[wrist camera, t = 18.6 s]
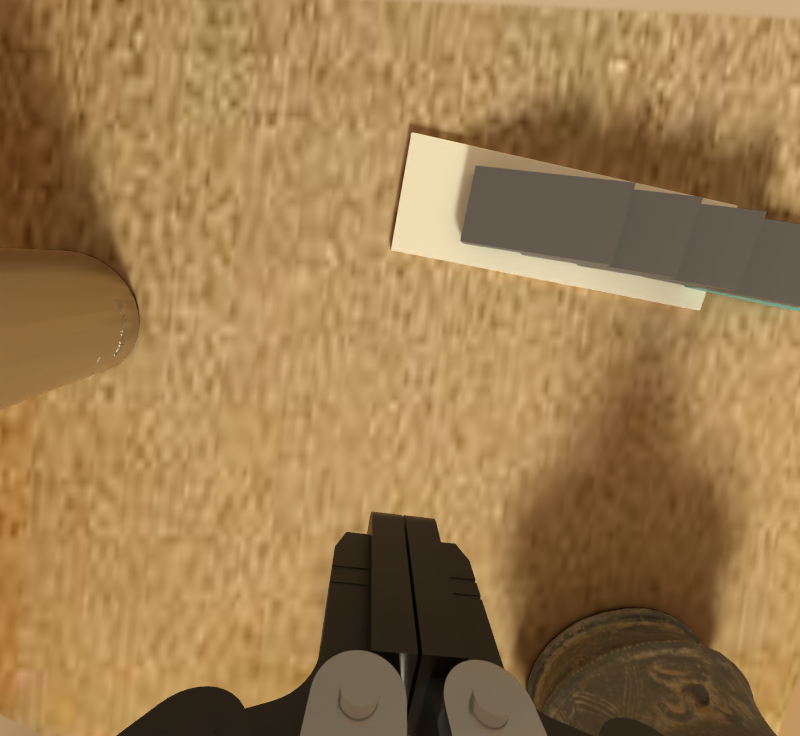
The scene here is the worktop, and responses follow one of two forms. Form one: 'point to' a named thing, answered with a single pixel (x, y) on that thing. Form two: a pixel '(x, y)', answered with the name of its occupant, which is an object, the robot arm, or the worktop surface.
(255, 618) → the worktop surface
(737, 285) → the domino
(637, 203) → the domino
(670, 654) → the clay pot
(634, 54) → the worktop surface
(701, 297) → the strip
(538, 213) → the domino
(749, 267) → the domino
